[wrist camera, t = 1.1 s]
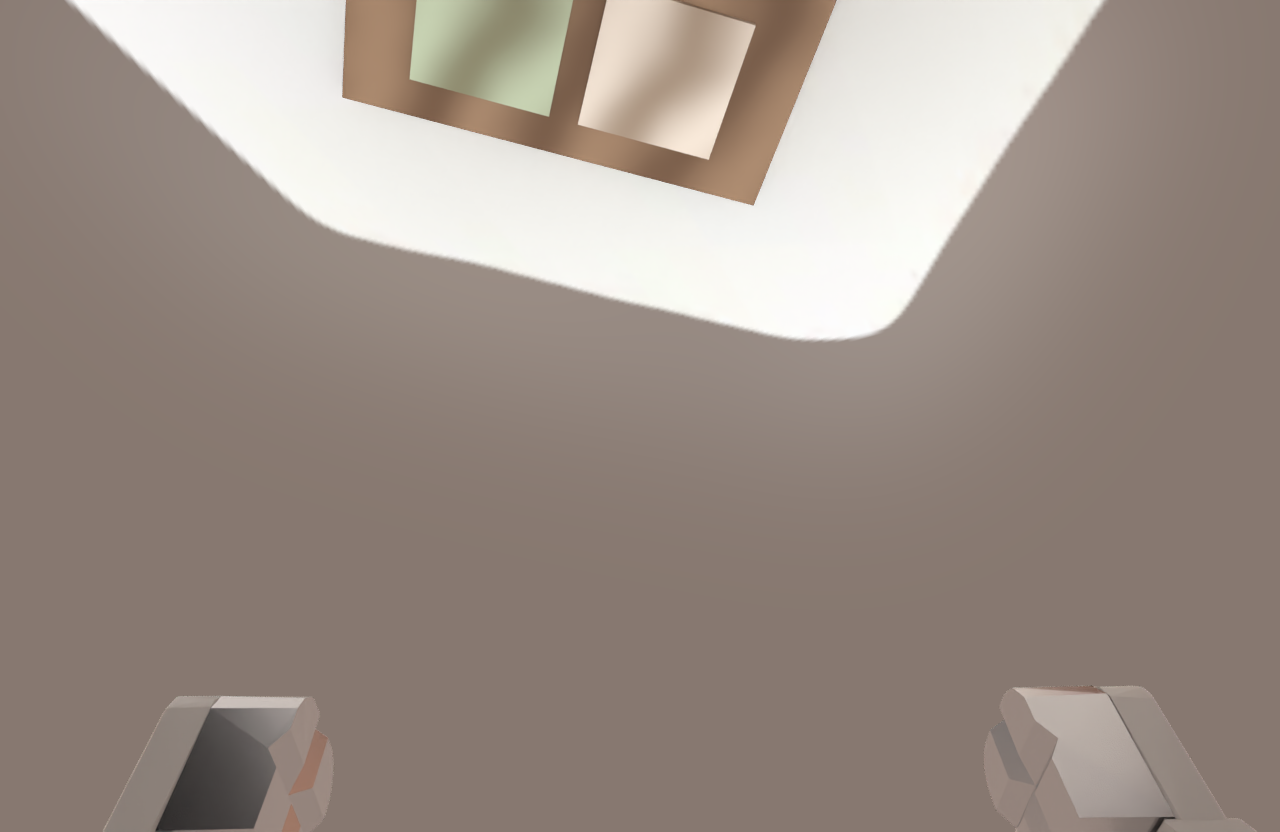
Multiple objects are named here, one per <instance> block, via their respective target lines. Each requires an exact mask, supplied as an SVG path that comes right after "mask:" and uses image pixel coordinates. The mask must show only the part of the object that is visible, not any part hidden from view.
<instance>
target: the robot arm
mask: <svg viewBox="0 0 1280 832" xmlns="http://www.w3.org/2000/svg"><path fill="white" fill-rule="evenodd" d="M999 708H1000V710H1001V713H1002V715H1003V718H1004V720H1003V721H1002V722H1001V723H999V724H998V725H996V726H995V727H993V728H992V729H990V731H989V734H988V737H987V740H986V743H985V746H984V771H985V776H986V780H987V785H988V789H989V792H990V795H991V798H992V801H993V803H994V806H995V809H996V811H998V812H999V813H1000V814H1001V815H1002V816H1003V817H1004V818H1005V819H1006V820H1007V821H1008V822H1010V823H1011V824H1012V825H1013V826H1014V827H1015V828H1016V830H1015V832H1257V831H1255V830H1254V829H1253V828H1252V827H1250V826H1249V825H1248V824H1246V823H1245V822H1244V821H1242V820H1241V819H1235V818H1226V816H1225V815H1224V813H1223V812H1222V810H1221V808H1220V807H1219V805H1218V803H1217V802H1216V800H1215V798H1214V797H1213V795H1212V793H1211V792H1210V790H1209V788H1208V787H1207V785H1206V783H1205V782H1204V780H1203V779H1202V777H1201V775H1200V774H1199V772H1198V770H1197V769H1196V767H1195V765H1194V764H1193V762H1192V760H1191V759H1190V757H1189V755H1188V754H1187V752H1186V750H1185V749H1184V747H1183V745H1182V744H1181V742H1180V741H1179V739H1178V737H1177V736H1176V734H1175V732H1174V731H1173V729H1172V727H1171V726H1170V724H1169V722H1168V721H1167V719H1166V717H1165V716H1164V714H1163V712H1162V711H1161V709H1160V708H1159V706H1158V704H1157V703H1156V701H1155V699H1154V698H1153V696H1152V695H1151V694H1150V693H1149V692H1147V690H1145V689H1144V688H1143V687H1140V686H1110V687H1094V686H1092V685H1091V686H1059V687H1058V686H1055V687H1018V688H1011V689H1010V690H1008V691H1007V692H1005V694H1004V696H1003V698H1002V700H1001V703H1000V706H999ZM319 717H320V712H319V710H318V708H317V705H316V702H315V700H314V698H313V697H240V696H237V697H236V696H235V697H234V696H229V697H228V696H179V697H177V698H176V699H175V700H174V701H173V702H172V703H171V704H170V705H169V706H168V707H167V708H166V709H165V710H164V712H163V714H162V716H161V718H160V720H159V722H158V724H157V726H156V727H155V729H154V731H153V734H152V736H151V737H150V739H149V741H148V743H147V745H146V747H145V749H144V751H143V753H142V755H141V757H140V759H139V761H138V763H137V765H136V767H135V769H134V771H133V773H132V775H131V777H130V779H129V781H128V782H127V784H126V786H125V788H124V790H123V792H122V794H121V796H120V798H119V800H118V802H117V804H116V806H115V808H114V810H113V812H112V814H111V816H110V818H109V820H108V822H107V824H106V826H105V827H104V830H103V831H102V832H312V831H313V829H314V828H316V827H317V826H318V825H319V824H320V823H321V822H322V821H323V820H324V817H325V814H326V810H327V807H328V803H329V799H330V796H331V788H332V780H333V771H334V765H333V753H332V748H331V745H330V742H329V739H328V737H326V736H325V735H323V734H322V733H321V732H319V731H318V730H316V726H317V723H318V720H319Z"/></svg>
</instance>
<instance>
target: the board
mask: <svg viewBox="0 0 1280 832" xmlns="http://www.w3.org/2000/svg"><path fill="white" fill-rule="evenodd" d="M835 3H836V0H346V17H345V43H344V69H343V95H342V97H343V98H346V99H350V100H354V101H358V102H362V103H366V104H369V105H373V106H377V107H381V108H385V109H388V110H392V111H396V112H400V113H404V114H407V115H411V116H415V117H419V118H423V119H426V120H430V121H434V122H438V123H442V124H445V125H449V126H453V127H457V128H461V129H464V130H468V131H472V132H476V133H480V134H484V135H487V136H491V137H495V138H499V139H503V140H506V141H510V142H514V143H518V144H522V145H525V146H529V147H533V148H537V149H541V150H544V151H548V152H552V153H556V154H560V155H563V156H567V157H571V158H575V159H579V160H582V161H586V162H590V163H594V164H598V165H602V166H605V167H609V168H613V169H617V170H621V171H624V172H628V173H632V174H636V175H640V176H643V177H647V178H651V179H655V180H659V181H662V182H666V183H670V184H674V185H678V186H681V187H685V188H689V189H693V190H697V191H700V192H704V193H708V194H712V195H716V196H720V197H723V198H727V199H731V200H735V201H739V202H742V203H746V204H750V205H754V203H755V200H756V198H757V195H758V193H759V191H760V188H761V186H762V183H763V181H764V178H765V176H766V173H767V171H768V168H769V166H770V163H771V161H772V158H773V156H774V153H775V151H776V149H777V146H778V144H779V141H780V139H781V136H782V134H783V131H784V129H785V126H786V124H787V121H788V119H789V116H790V114H791V112H792V109H793V107H794V104H795V102H796V99H797V97H798V94H799V92H800V89H801V87H802V84H803V82H804V79H805V77H806V75H807V72H808V70H809V67H810V65H811V62H812V60H813V57H814V55H815V52H816V50H817V47H818V45H819V42H820V40H821V37H822V35H823V33H824V30H825V28H826V25H827V23H828V20H829V18H830V15H831V13H832V10H833V8H834V5H835Z"/></svg>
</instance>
